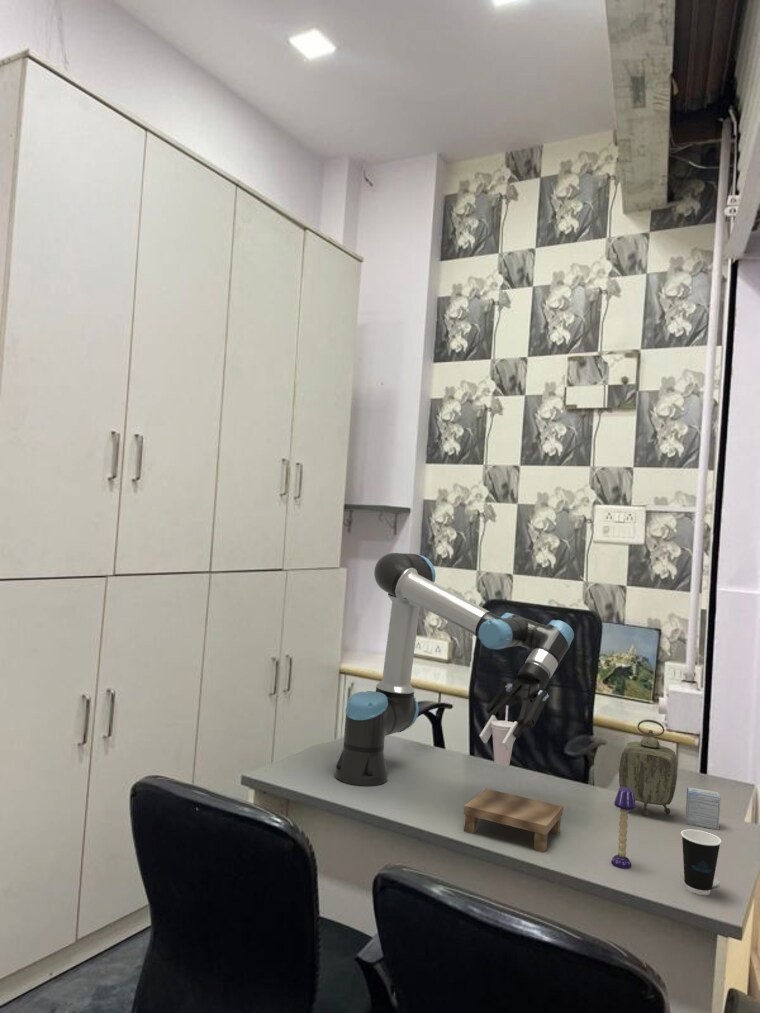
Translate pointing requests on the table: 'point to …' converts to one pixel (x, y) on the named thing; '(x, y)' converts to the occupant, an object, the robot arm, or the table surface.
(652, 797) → the tabletop clock
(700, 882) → the dixie cup
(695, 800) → the medicine box
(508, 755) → the smoothie
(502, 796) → the step stool
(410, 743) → the table surface
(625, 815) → the toy lamp
